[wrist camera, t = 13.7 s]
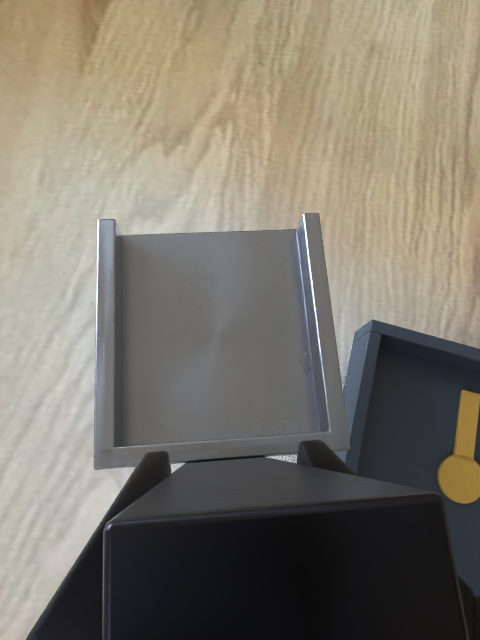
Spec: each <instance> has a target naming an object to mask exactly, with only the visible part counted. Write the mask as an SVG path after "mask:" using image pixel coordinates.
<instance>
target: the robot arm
mask: <svg viewBox="0 0 480 640" xmlns="http://www.w3.org/2000/svg"><path fill="white" fill-rule="evenodd" d="M297 464H301V465H306V466H311V467H315V468H320V469H325V470H330V471H335V472H340V473H345V474H350V475H355V476H357V475H356V474H355V473H354V472H353V471H352V470H351V469H350V468H349V467H348V466H347V465H346V464H345V463H344V462H343V461H342V460H341V459H340V458H339V457H338V456H337V455H336V454H335V453H334V452H333V451H332V450H331V449H330V448H329V447H328V446H327V445H326V444H325V443H324V442H323V441H321V440H305V441H301V442H300V443H299V446H298V455H297ZM169 475H171V467H170V458H169V453H168V452H166V451H156V452H147V453H146V454H144V456H143V457H142V459H141V460H140V462H139V463H138V465H137V466H136V468H135V470H134V471H133V473H132V474H131V476H130V477H129V479H128V481H127V482H126V484H125V485H124V487H123V488H122V490H121V491H120V493H119V495H118V496H117V498H116V499H115V501H114V502H113V504H112V505H111V507H110V509H109V510H108V512H107V513H106V515H105V516H104V518H103V519H102V521H101V523H100V524H99V526H98V527H97V529H96V530H95V532H94V533H93V535H92V537H91V538H90V540H89V541H88V543H87V544H86V546H85V548H84V549H83V551H82V552H81V554H80V555H79V557H78V558H77V560H76V562H75V563H74V565H73V566H72V568H71V569H70V571H69V572H68V574H67V576H66V577H65V579H64V580H63V582H62V583H61V585H60V586H59V588H58V590H57V591H56V593H55V594H54V596H53V597H52V599H51V600H50V602H49V604H48V605H47V607H46V608H45V610H44V611H43V613H42V615H41V616H40V618H39V619H38V621H37V622H36V624H35V625H34V627H33V629H32V630H31V632H30V633H29V635H28V636H27V638H26V640H102V622H103V531H104V528H105V526H106V523H107V522H108V521H110V520H111V519H112V518H114V517H115V516H116V515H118V514H119V513H120V512H122V511H123V510H124V509H126V508H127V507H128V506H130V505H131V504H132V503H134V502H135V501H136V500H138V499H139V498H140V497H142V496H143V495H144V494H145V493H147V492H148V491H149V490H151V489H152V488H153V487H155V486H156V485H157V484H159V483H160V482H161V481H163V480H164V479H165V478H167V477H168V476H169ZM458 580H459V586H460V591H461V597H462V602H463V608H464V613H465V619H466V624H467V630H468V635H469V640H480V596H478V595H475V596H474V591H473V590H472V589H471V588H470V587H469V586H468V585H467V584H466V583H465V582H464V581H463V580H462V579H461V578H460V577H459V576H458Z"/></svg>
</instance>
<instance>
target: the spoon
mask: <svg viewBox="0 0 480 640" xmlns="http://www.w3.org/2000/svg"><path fill="white" fill-rule="evenodd" d="M479 404H480V394H477V393H473V392H470V391H466V390H461V394H460V402H459V410H458V419H457V427H456V435H455V443H454V451H453V455H450V456H448V457H446V458H445V459H443V461H442V462H441V463H440V465H439V467H438V471H437V480H438V484H439V486H440V489H441V490H442V492H443V493H444V494H445V495H446V496H447V497H448V498H449V499H451V500H452V501H454V502H457V503H462V504H467V503H471V502H474V501H475V500H477V499H478V498H479V497H480V466H479V465H478V464H477V462H476V461H474V460H473V459H474V450H475V441H476V432H477V423H478V413H479Z"/></svg>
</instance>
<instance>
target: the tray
mask: <svg viewBox="0 0 480 640" xmlns="http://www.w3.org/2000/svg"><path fill="white" fill-rule="evenodd" d="M461 390H466V391H470V392H473V393H477V394H480V349H477V348H474V347H470V346H466V345H463V344H459V343H456V342H452V341H448V340H445V339H441V338H437V337H434V336H430V335H427V334H423V333H419V332H416V331H412V330H408V329H405V328H401V327H398V326H394V325H390V324H387V323H383V322H379V321H376V320H371V321H370V322H368V323H367V324H366V325H364V326H363V327H362V328H360V329H359V330H357V331H356V332H355V336H354V341H353V346H352V351H351V356H350V361H349V366H348V371H347V376H346V381H345V386H344V391H343V398H344V405H345V413H346V420H347V428H348V435H349V443H350V450H345V451H333V452H334V453H335V454H336V455H337V456H338V457H339V458H340V459H341V460H342V461H343V462H344V463H345V464H346V465H347V466H348V467H349V468H350V469H351V470H352V471H353V472H354V473H355V474H356V475H357V476H360V477H364V478H369V479H374V480H379V481H384V482H389V483H394V484H399V485H404V486H409V487H413V488H418V489H423V490H428V491H433V492H436V493H438V494H440V495H441V496H442V498H443V500H444V503H445V509H446V514H447V520H448V525H449V531H450V536H451V542H452V547H453V553H454V558H455V564H456V569H457V575H458V576H459V577H460V578H461V579H462V580H463V581H464V582H465V583H466V584H467V585H468V586H469V587H470V588H471V589H472V590H473V591H474V596H475V595H478V596H480V497H479V498H478V499H477V500H475V501H474V502H471V503H467V504H462V503H457V502H454V501H452V500H451V499H449V498H448V497H447V496H446V495H445V494H444V493H443V492H442V490H441V489H440V486H439V484H438V480H437V471H438V467H439V465H440V463H441V462H442V461H443V459H445V458H446V457H448V456H450V455H453V451H454V443H455V435H456V427H457V419H458V410H459V402H460V394H461ZM473 460H474V461H476V462H477V464H478V465H479V466H480V404H479V413H478V423H477V432H476V441H475V450H474V459H473Z"/></svg>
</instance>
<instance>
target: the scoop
mask: <svg viewBox="0 0 480 640" xmlns="http://www.w3.org/2000/svg"><path fill="white" fill-rule="evenodd" d="M305 440H321V441H323V442H324V443H325V444H326V445H327V446H328V447H329V448H330V449H331V450H332V451H345V450H350V443H349V435H348V428H347V420H346V413H345V405H344V398H343V390H342V383H341V375H340V368H339V360H338V353H337V345H336V338H335V330H334V323H333V315H332V308H331V300H330V292H329V285H328V277H327V270H326V262H325V255H324V247H323V240H322V232H321V225H320V217H319V213H305V214H303V215H302V218H301V220H300V223H299V225H298V227H297V229H293V230H263V231H233V232H204V233H174V234H144V235H121V232H120V230H119V227H118V225H117V223H116V220H115V219H102V220H98V225H97V287H96V348H95V410H94V469H95V470H99V469H112V468H125V467H136V466H137V465H138V463H139V462H140V460H141V459H142V457H143V456H144V454H146V453H147V452H156V451H166V452H168V453H169V458H170V464H176V463H185V464H184V465H183V466H181V467H180V468H179V469H177V470H176V471H175V472H173V473H172V474H171V475H169V476H168V477H167V478H165V479H164V480H163V481H161V482H160V483H159V484H157V485H156V486H155V487H153V488H152V489H151V490H149V491H148V492H147V493H145V494H144V495H143V496H142V497H140V498H139V499H138V500H136V501H135V502H134V503H132V504H131V505H130V506H128V507H127V508H126V509H124V510H123V511H122V512H120V513H119V514H118V515H116V516H115V517H114V518H112V519H111V520H110V521H108V522H107V523H106V526H105V528H104V531H103V622H102V640H469V635H468V630H467V624H466V619H465V613H464V608H463V602H462V597H461V591H460V586H459V580H458V575H457V569H456V564H455V558H454V553H453V547H452V542H451V536H450V531H449V525H448V520H447V514H446V509H445V503H444V500H443V498H442V496H441V495H440V494H438V493H436V492H433V491H428V490H423V489H418V488H413V487H409V486H404V485H399V484H394V483H389V482H384V481H379V480H374V479H369V478H364V477H360V476H355V475H350V474H345V473H340V472H335V471H330V470H325V469H320V468H315V467H311V466H306V465H301V464H296V463H291V462H286V461H281V460H276V459H271V458H266V457H267V456H280V455H293V454H298V446H299V443H300V442H301V441H305Z"/></svg>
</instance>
